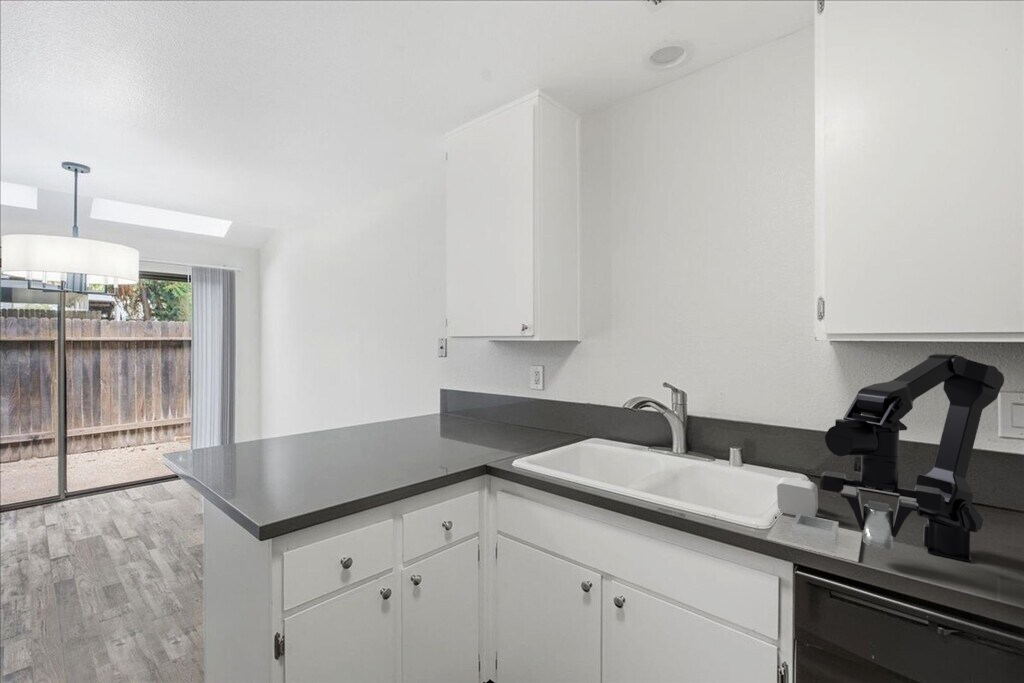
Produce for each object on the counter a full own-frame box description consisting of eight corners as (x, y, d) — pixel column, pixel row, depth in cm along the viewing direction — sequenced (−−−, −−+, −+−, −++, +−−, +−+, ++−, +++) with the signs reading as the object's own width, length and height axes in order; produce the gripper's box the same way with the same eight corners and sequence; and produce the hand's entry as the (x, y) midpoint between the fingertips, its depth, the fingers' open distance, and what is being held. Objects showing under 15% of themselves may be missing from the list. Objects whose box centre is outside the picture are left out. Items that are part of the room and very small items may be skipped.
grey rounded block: (823, 506, 121) (822, 470, 119) (815, 527, 114) (814, 489, 112) (787, 498, 127) (786, 464, 125) (778, 518, 119) (776, 482, 117)
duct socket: (862, 535, 105) (862, 521, 105) (858, 562, 92) (858, 545, 92) (780, 517, 115) (780, 504, 115) (766, 539, 102) (767, 524, 102)
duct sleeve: (892, 543, 92) (893, 504, 92) (892, 551, 89) (893, 510, 88) (863, 536, 95) (864, 498, 95) (862, 544, 92) (863, 504, 91)
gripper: (941, 453, 92) (939, 532, 92) (826, 439, 104) (825, 509, 104) (946, 465, 83) (944, 553, 84) (820, 448, 95) (818, 525, 95)
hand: (877, 533), depth 92 cm, fingers closed on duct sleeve, 5 cm apart
